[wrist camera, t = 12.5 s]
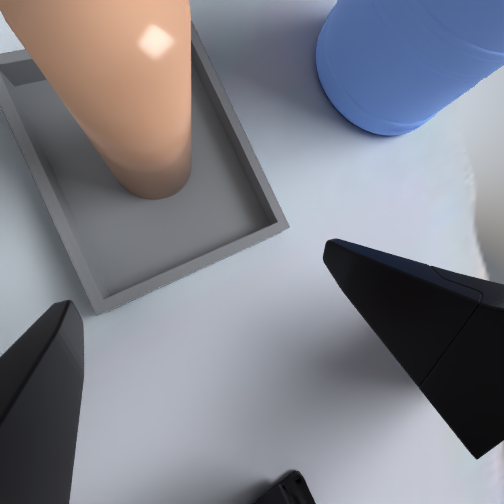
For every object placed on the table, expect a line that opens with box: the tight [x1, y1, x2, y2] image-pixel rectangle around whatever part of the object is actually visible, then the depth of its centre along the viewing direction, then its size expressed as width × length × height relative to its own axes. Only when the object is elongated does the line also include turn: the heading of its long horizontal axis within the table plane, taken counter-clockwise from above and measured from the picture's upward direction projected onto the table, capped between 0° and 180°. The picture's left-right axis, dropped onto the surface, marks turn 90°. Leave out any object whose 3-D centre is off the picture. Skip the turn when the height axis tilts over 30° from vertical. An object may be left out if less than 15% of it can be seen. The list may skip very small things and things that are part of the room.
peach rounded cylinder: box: [0, 0, 192, 200], centre depth 16 cm, size 6×6×13 cm
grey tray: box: [0, 21, 290, 315], centre depth 21 cm, size 20×16×2 cm
